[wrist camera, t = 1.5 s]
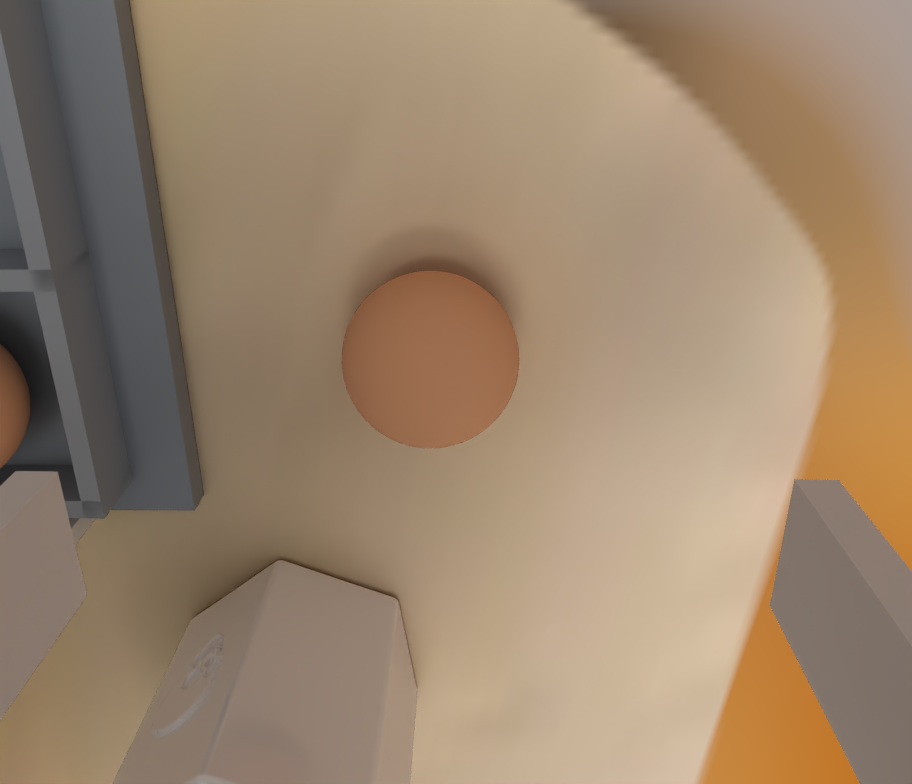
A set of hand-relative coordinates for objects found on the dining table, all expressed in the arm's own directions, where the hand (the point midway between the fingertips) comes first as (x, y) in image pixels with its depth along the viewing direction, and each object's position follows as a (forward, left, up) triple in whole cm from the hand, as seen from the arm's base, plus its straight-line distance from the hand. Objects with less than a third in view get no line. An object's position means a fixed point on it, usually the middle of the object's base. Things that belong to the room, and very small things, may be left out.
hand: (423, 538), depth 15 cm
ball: (0, 0, -11) cm, 11 cm away
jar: (-5, -13, -12) cm, 18 cm away
